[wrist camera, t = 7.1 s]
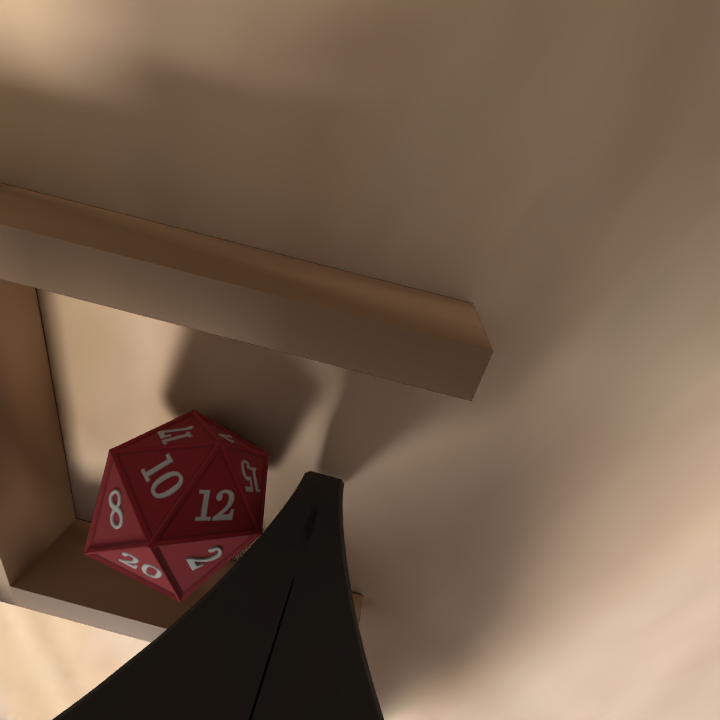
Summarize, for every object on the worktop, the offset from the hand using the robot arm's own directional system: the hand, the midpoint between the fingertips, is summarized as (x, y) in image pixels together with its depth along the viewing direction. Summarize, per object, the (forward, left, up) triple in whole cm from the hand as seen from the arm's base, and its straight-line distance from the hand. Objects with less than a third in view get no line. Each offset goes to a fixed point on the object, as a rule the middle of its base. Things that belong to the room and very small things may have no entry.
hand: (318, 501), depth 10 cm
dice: (0, +3, -1) cm, 3 cm away
